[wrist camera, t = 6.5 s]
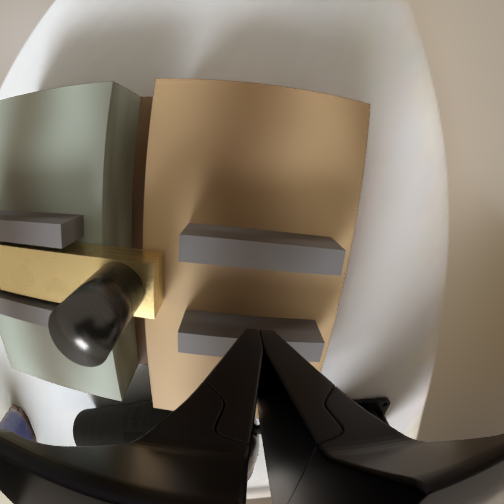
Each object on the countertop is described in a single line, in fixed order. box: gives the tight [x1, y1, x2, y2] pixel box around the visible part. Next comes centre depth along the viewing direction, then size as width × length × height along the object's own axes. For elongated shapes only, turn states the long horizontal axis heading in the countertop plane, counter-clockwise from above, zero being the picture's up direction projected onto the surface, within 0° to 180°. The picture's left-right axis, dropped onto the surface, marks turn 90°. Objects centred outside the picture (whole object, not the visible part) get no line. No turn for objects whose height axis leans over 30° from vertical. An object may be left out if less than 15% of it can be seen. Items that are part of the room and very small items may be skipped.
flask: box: [0, 405, 37, 442], centre depth 19 cm, size 9×3×11 cm, turn 160°
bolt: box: [0, 241, 163, 367], centre depth 10 cm, size 10×2×5 cm, turn 84°
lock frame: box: [0, 79, 370, 419], centre depth 14 cm, size 20×17×7 cm
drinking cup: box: [73, 400, 261, 481], centre depth 19 cm, size 8×8×20 cm
